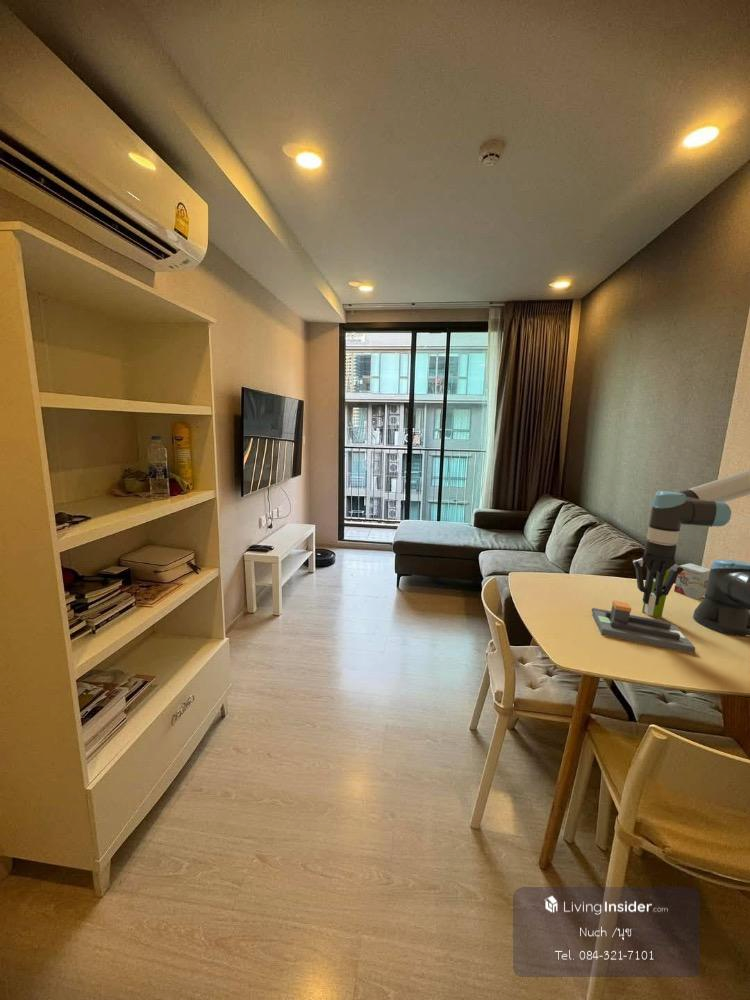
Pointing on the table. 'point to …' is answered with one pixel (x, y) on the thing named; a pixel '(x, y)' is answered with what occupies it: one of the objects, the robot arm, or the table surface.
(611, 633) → the panel
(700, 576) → the ink box
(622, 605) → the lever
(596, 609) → the grey twin rods
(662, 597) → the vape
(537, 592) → the table surface
